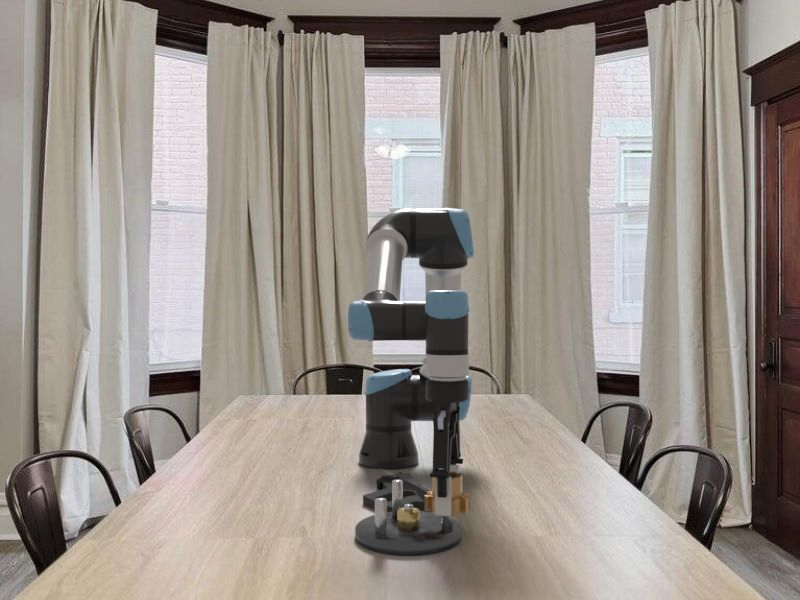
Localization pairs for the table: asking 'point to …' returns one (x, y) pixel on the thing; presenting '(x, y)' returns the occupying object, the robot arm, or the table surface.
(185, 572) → the table surface
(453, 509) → the planet gear
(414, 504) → the pistol
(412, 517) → the carrier
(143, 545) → the table surface
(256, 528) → the table surface
